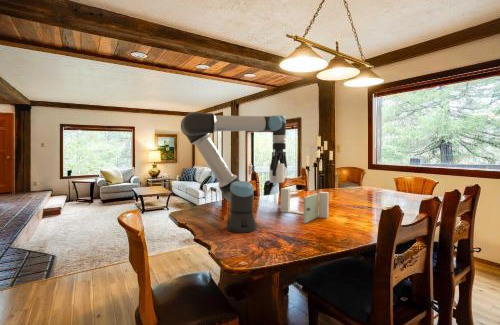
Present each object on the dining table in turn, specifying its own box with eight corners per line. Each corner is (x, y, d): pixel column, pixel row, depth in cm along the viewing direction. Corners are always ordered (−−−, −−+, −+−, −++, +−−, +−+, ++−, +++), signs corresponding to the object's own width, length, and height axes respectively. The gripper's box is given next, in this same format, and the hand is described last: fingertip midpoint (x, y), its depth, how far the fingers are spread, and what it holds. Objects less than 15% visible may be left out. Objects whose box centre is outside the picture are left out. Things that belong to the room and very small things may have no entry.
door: (308, 224, 143) (308, 196, 142) (303, 224, 145) (303, 195, 144) (320, 217, 158) (321, 191, 157) (316, 217, 160) (317, 191, 159)
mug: (291, 182, 156) (292, 163, 155) (274, 183, 150) (274, 164, 149) (283, 180, 163) (283, 162, 162) (266, 181, 157) (266, 163, 157)
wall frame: (280, 211, 173) (281, 188, 172) (282, 210, 175) (283, 188, 175) (326, 218, 157) (327, 193, 156) (328, 217, 160) (329, 192, 159)
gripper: (276, 142, 143) (276, 183, 144) (292, 142, 162) (292, 178, 164) (264, 142, 147) (264, 182, 148) (281, 143, 166) (281, 178, 167)
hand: (278, 180), depth 156 cm, fingers closed on mug, 10 cm apart
